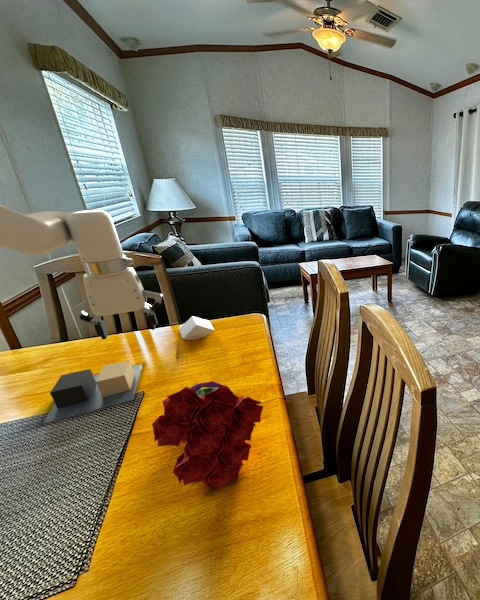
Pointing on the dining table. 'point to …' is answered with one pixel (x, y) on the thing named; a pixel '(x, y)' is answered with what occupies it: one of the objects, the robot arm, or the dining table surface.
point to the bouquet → (208, 432)
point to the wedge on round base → (195, 328)
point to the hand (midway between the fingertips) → (130, 332)
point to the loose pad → (115, 378)
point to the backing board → (94, 401)
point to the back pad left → (73, 388)
